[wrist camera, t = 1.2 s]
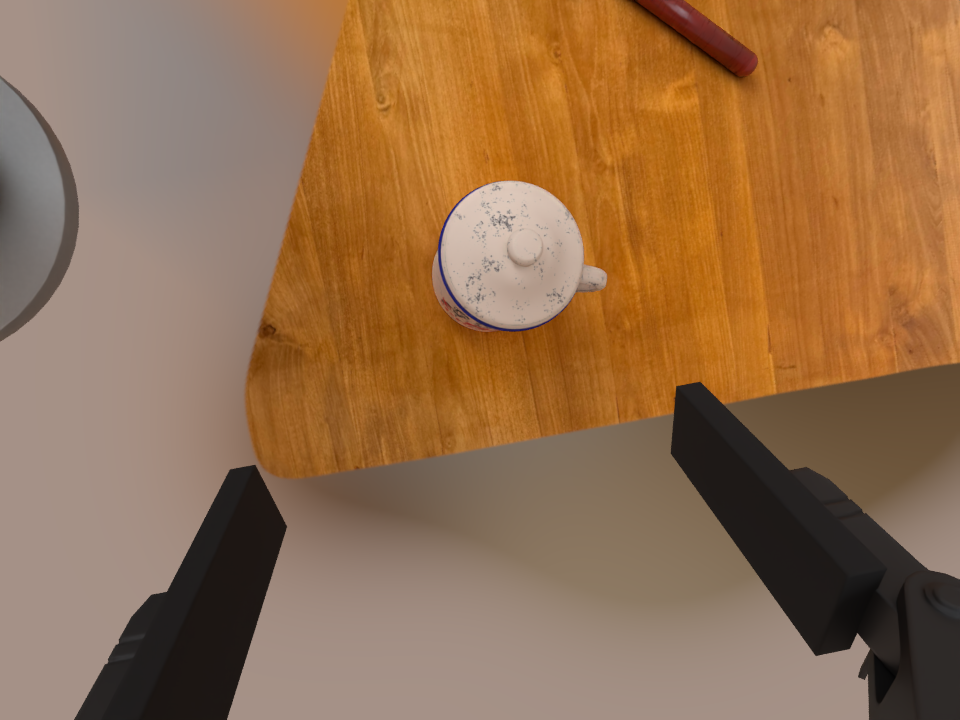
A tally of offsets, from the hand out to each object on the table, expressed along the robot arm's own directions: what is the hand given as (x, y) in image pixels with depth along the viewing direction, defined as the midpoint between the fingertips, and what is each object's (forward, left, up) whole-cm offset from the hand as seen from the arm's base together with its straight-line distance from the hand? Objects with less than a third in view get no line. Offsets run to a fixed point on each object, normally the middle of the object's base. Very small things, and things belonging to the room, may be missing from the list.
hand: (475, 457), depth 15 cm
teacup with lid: (+1, +11, -22) cm, 24 cm away
